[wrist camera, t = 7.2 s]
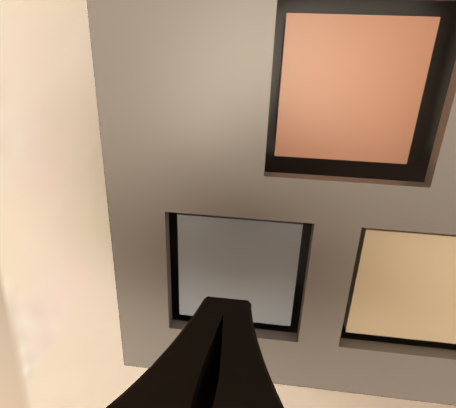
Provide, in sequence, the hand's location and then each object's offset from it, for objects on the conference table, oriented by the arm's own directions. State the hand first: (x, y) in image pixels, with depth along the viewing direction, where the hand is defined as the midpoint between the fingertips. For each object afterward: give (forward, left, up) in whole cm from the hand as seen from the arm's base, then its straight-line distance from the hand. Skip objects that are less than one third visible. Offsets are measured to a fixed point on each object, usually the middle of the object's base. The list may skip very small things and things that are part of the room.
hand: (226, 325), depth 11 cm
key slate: (0, 0, -4) cm, 4 cm away
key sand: (-7, 0, -4) cm, 8 cm away
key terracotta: (-3, -6, -5) cm, 9 cm away
